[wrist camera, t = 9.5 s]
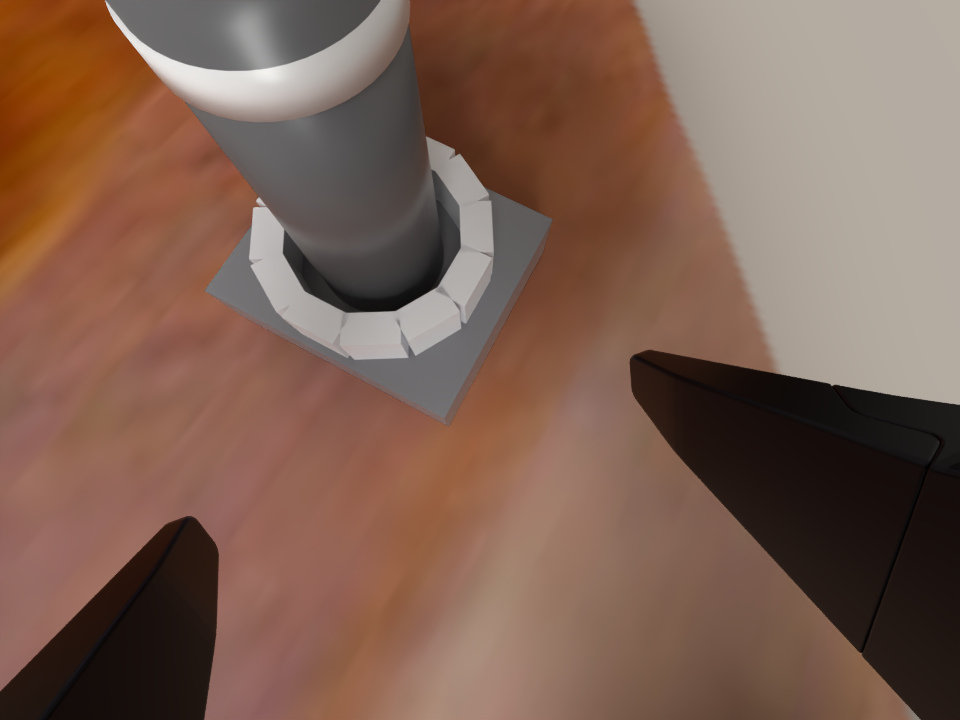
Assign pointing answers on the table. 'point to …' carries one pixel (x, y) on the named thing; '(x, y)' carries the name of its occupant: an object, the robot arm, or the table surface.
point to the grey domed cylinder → (312, 126)
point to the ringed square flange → (420, 324)
